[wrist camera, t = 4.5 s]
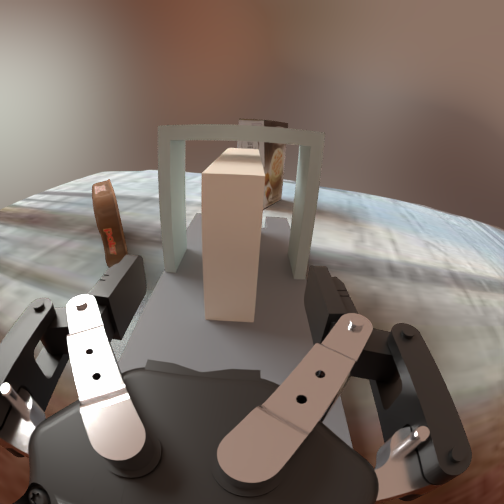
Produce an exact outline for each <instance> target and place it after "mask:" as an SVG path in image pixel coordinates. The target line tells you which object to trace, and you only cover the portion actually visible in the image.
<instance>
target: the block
mask: <svg viewBox="0 0 504 504" xmlns="http://www.w3.org/2000/svg"><path fill="white" fill-rule="evenodd" d="M264 186H265V173H264V169H263V165H262V161H261V157H260V153H259V149H243V148H228V149H227V150H226V151H225V152H224V153H223V154H222V155H220V156H219V157H218V158H217V159H216V160H215V161H214V162H213V163H212V164H211V165H210V166H209V167H208V168H207V169H206V170H205V171H204V172H203V173H202V258H203V286H204V306H205V320H219V321H236V322H254V314H255V302H256V290H257V277H258V265H259V252H260V239H261V226H262V213H263V199H264Z"/></svg>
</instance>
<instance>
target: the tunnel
mask: <svg viewBox="0 0 504 504" xmlns="http://www.w3.org/2000/svg"><path fill="white" fill-rule="evenodd" d="M324 139H325V133H322V132H315V131H307V130H298V129H289V128H278V127H265V126H249V125H213V124H211V125H210V124H209V125H208V124H206V125H204V124H202V125H201V124H200V125H167V126H158V182H159V205H160V221H161V234H162V246H163V256H164V266H165V272H173V273H176V271H177V269H178V266H179V264H180V262H181V260H182V258H183V256H184V254H185V252H186V250H187V235H186V205H185V140H234V141H254V142H269V143H282V144H294V145H300V146H299V157H298V168H297V179H296V187H295V197H294V206H293V215H292V223H291V232H290V240H289V248H288V257H289V261H290V265H291V269H292V273H293V277H294V279H305V276H306V271H307V265H308V259H309V253H310V247H311V241H312V234H313V228H314V221H315V214H316V207H317V200H318V192H319V185H320V176H321V168H322V159H323V149H324Z"/></svg>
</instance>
